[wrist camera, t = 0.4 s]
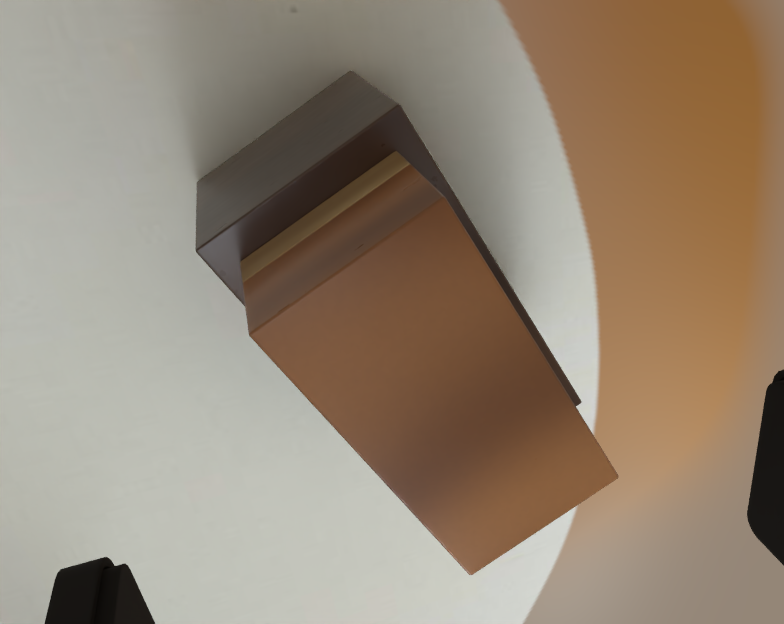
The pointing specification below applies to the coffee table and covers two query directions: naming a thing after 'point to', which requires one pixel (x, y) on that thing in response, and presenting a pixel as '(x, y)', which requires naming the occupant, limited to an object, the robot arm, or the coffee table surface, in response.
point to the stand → (319, 181)
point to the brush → (422, 363)
